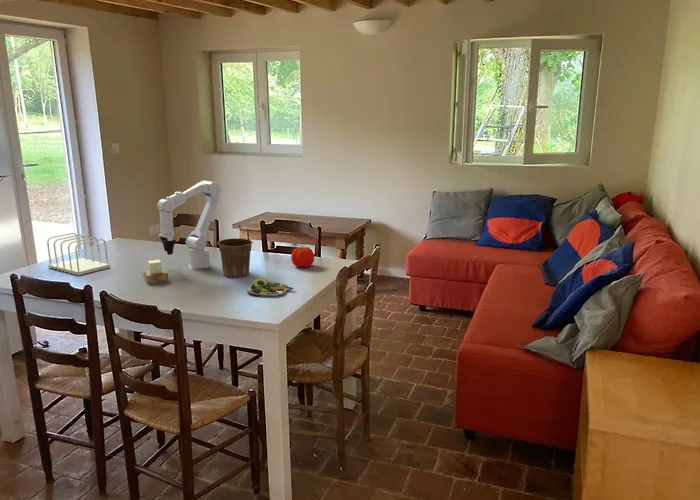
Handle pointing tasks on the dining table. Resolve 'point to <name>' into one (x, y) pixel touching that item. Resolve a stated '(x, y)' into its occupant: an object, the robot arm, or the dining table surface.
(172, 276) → the building mat
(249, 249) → the plant pot
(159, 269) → the sage cube
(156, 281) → the walnut base block
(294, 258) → the tomato
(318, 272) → the dining table surface
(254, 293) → the salad plate
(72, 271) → the file sorter
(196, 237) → the robot arm
